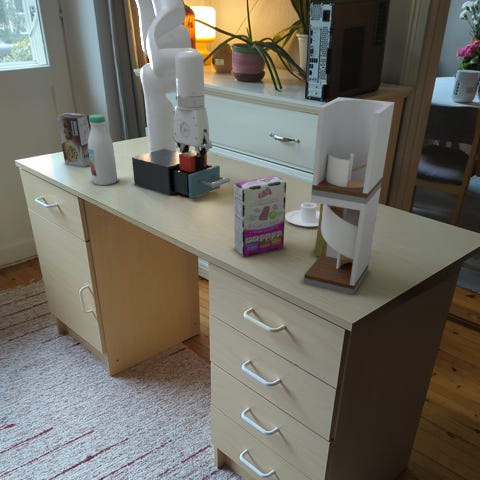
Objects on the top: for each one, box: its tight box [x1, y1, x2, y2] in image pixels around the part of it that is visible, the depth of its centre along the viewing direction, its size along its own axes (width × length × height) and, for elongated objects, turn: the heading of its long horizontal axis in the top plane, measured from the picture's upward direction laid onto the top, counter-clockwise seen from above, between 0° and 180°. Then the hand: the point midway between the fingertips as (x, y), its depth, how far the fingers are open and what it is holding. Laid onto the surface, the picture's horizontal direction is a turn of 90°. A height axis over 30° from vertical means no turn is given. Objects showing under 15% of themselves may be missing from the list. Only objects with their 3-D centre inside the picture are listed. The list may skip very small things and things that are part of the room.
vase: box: [313, 204, 327, 258], centre depth 118 cm, size 6×6×14 cm
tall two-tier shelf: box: [303, 96, 396, 296], centre depth 102 cm, size 11×11×35 cm
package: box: [179, 149, 208, 172], centre depth 152 cm, size 5×7×4 cm, turn 141°
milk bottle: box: [88, 114, 118, 186], centre depth 160 cm, size 8×8×20 cm
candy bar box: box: [233, 175, 287, 258], centre depth 119 cm, size 11×5×16 cm, turn 117°
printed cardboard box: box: [56, 112, 91, 167], centre depth 178 cm, size 9×6×16 cm
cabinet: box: [131, 149, 182, 196], centre depth 161 cm, size 16×14×9 cm
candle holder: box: [285, 202, 320, 227], centre depth 138 cm, size 12×12×4 cm
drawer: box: [170, 164, 231, 200], centre depth 155 cm, size 21×12×7 cm, turn 51°
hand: (193, 167), depth 153 cm, fingers closed on package, 4 cm apart
